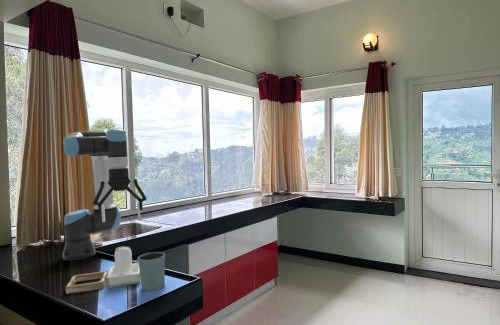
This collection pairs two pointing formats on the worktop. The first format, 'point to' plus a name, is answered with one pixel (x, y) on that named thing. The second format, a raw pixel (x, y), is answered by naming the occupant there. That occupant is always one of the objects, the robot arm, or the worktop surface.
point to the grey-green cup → (152, 270)
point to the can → (123, 261)
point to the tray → (123, 277)
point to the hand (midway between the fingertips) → (121, 219)
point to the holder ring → (89, 286)
